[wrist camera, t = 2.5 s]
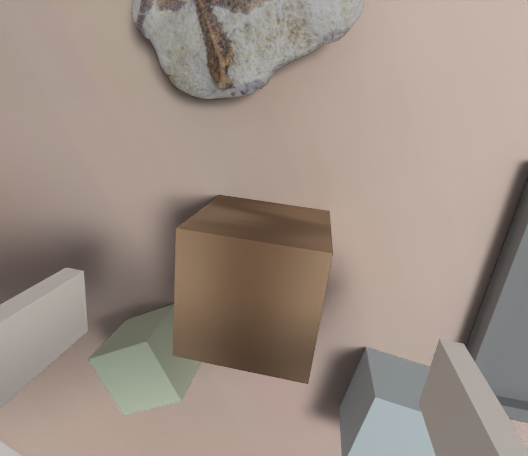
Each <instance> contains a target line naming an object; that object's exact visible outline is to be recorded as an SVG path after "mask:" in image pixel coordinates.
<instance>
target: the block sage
mask: <svg viewBox="0 0 528 456" xmlns="http://www.w3.org/2000/svg"><path fill="white" fill-rule="evenodd" d="M173 323H174V304H172V305H169V306H166V307H163V308H160V309H157V310H154V311H151V312H148V313H145V314H142V315H139V316H136V317H133V318H130V319H127V320H125V322H124V323H123V324H122V325H121V326H120V327H119V328H118V329H117V330H116V331H115V332H114V333H113V334H112V335H111V336H110V337H109V338H108V339H107V340H106V341H105V342H104V343H103V344H102V345H101V346H100V347H99V348H98V349H97V350H96V351H95V352H94V353H93V354H92V355H91V356H90V358H89V359H88V361H89V362H90V364H91V365H92V367H93V369H94V370H95V372H96V373H97V375H98V376H99V378H100V380H101V381H102V383H103V384H104V386H105V387H106V389H107V391H108V392H109V394H110V395H111V397H112V398H113V400H114V402H115V403H116V405H117V406H118V408H119V409H120V411H121V413H122V414H123V415H127V414H131V413H135V412H139V411H144V410H148V409H152V408H156V407H160V406H165V405H169V404H173V403H177V402H181V401H182V400H183V398H184V396H185V394H186V392H187V390H188V388H189V385H190V383H191V381H192V379H193V377H194V375H195V373H196V371H197V369H198V367H199V365H200V363H201V362H200V361H195V360H191V359H186V358H181V357H176V356H173Z"/></svg>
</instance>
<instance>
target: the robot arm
mask: <svg viewBox="0 0 528 456" xmlns="http://www.w3.org/2000/svg"><path fill="white" fill-rule="evenodd" d="M86 332H88V324H87V310H86V296H85V281H84V271H82V270H77V269H71V268H64V269H62V270H61V271H59V272H57V273H55V274H53V275H52V276H50V277H48V278H46V279H45V280H43V281H41V282H39V283H37V284H36V285H34V286H32V287H30V288H29V289H27V290H25V291H23V292H21V293H20V294H18V295H16V296H14V297H13V298H11V299H9V300H7V301H6V302H4V303H2V304H0V408H1V407H2V406H3V405H5V404H6V403H7V402H8V401H9V400H10V399H11V398H13V397H14V396H15V395H16V394H17V393H18V392H19V391H21V390H22V389H23V388H24V387H25V386H26V385H27V384H28V383H30V382H31V381H32V380H33V379H34V378H35V377H36V376H38V375H39V374H40V373H41V372H42V371H43V370H44V369H45V368H47V367H48V366H49V365H50V364H51V363H52V362H53V361H55V360H56V359H57V358H58V357H59V356H60V355H61V354H63V353H64V352H65V351H66V350H67V349H68V348H69V347H70V346H72V345H73V344H74V343H75V342H76V341H77V340H78V339H80V338H81V337H82V336H83V335H84V334H85V333H86ZM419 406H420V409H421V412H422V415H423V418H424V421H425V424H426V427H427V430H428V433H429V437H430V440H431V443H432V446H433V449H434V452H435V455H436V456H528V448H527V447H526V445H525V443H524V442H523V440H522V438H521V437H520V435H519V434H518V432H517V430H516V429H515V427H514V425H513V424H512V422H511V420H510V419H509V417H508V415H507V414H506V412H505V411H504V409H503V407H502V406H501V404H500V402H499V401H498V399H497V397H496V396H495V394H494V393H493V391H492V389H491V388H490V386H489V384H488V383H487V381H486V379H485V378H484V376H483V375H482V373H481V371H480V370H479V368H478V366H477V365H476V363H475V361H474V360H473V358H472V356H471V355H470V353H469V352H468V350H467V348H466V347H465V345H464V344H463V343H458V342H452V341H447V340H442V339H439V342H438V345H437V348H436V351H435V354H434V357H433V360H432V363H431V367H430V370H429V373H428V376H427V379H426V382H425V385H424V388H423V391H422V394H421V397H420V400H419Z"/></svg>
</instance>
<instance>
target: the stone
mask: <svg viewBox="0 0 528 456" xmlns="http://www.w3.org/2000/svg"><path fill="white" fill-rule="evenodd" d="M363 7H364V0H132V19H133V21H134V23H135V27H136V28H138V29H139V30H141V31H142V33H143V35H144V37H145V38H147V39H149V40H150V41H151V43H152V45H153V47H154V49H155V51H156V53H157V56H158V59H159V62H160V64H161V67H162V69H163V71H164V72H165V73H166V74H167V76H168V77H169V79H170V81H171V82H172V84H173V85H174V86H175V87H176V88H178V89H179V90H181V91H183V92H185V93H187V94H189V95H191V96H195V97H199V98H203V99H218V98H225V97H228V98H232V97H237V96H246V95H249V94H251V93H253V92H255V91H256V90H258V89H262V87H264V86H265V85H266V84H267V83H268V82H269V79H270V77H271V76H272V75H273V74H274V72H275V71H277V70H278V69H280V68H281V67H283V66H284V65H286V64H288V63H290V62H292V61H294V60H297V59H299V58H301V57H303V56H305V55H308V54H309V53H310V52H311V51H314V50H316V49H318V48H320V47H321V46H323V45H324V44H327V43H331V42H335V41H338V40H340V39H341V38H342V37H343V36H344V35H345V34H346V33H347V32H348V31H349V30H350V28H351V26H352V25H353V24H354V23H355V22H356V21H357V20H358V18H359V16H360V15H361V13H362V11H363Z"/></svg>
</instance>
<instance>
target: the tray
mask: <svg viewBox="0 0 528 456" xmlns="http://www.w3.org/2000/svg"><path fill="white" fill-rule="evenodd" d="M466 348H467V350H468V352H469V353H470V355H471V356H472V358H473V360H474V361H475V363H476V365H477V366H478V368H479V370H480V371H481V373H482V375H483V376H484V378H485V379H486V381H487V383H488V384H489V386H490V388H491V389H492V391H493V393H494V394H495V396H496V397H497V399H498V401H499V402H500V404H501V406H502V407H503V409H504V411H505V412H506V414H507V415H508V417H509V419H512V420H516V421H521V422H526V423H528V178H527V181H526V184H525V186H524V189H523V192H522V195H521V197H520V200H519V203H518V206H517V208H516V211H515V214H514V217H513V219H512V222H511V225H510V228H509V230H508V233H507V236H506V239H505V241H504V244H503V247H502V249H501V252H500V255H499V258H498V260H497V263H496V266H495V269H494V271H493V274H492V277H491V280H490V282H489V285H488V288H487V291H486V293H485V296H484V299H483V302H482V304H481V307H480V310H479V312H478V315H477V318H476V321H475V323H474V326H473V329H472V332H471V334H470V337H469V340H468V343H467V345H466Z"/></svg>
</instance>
